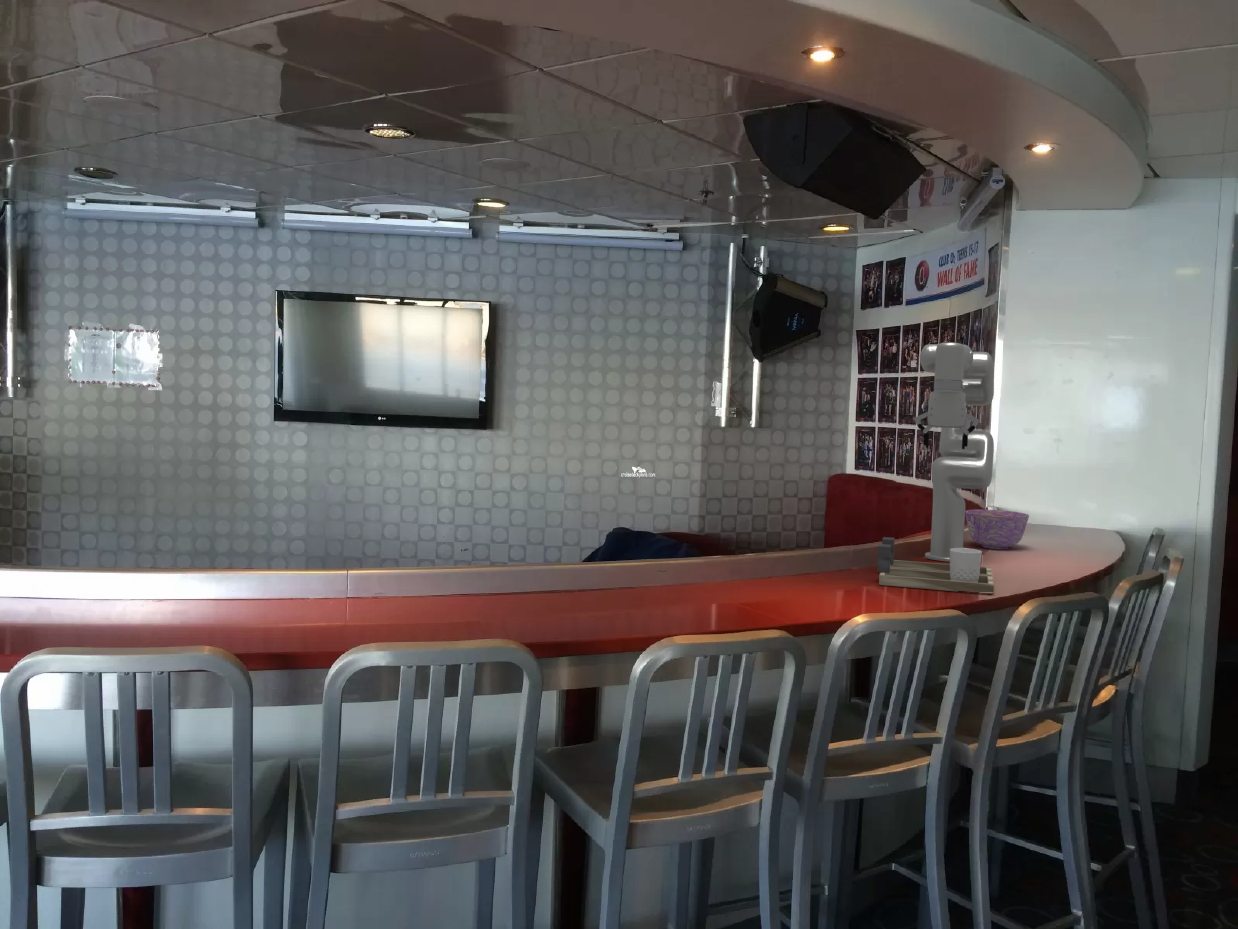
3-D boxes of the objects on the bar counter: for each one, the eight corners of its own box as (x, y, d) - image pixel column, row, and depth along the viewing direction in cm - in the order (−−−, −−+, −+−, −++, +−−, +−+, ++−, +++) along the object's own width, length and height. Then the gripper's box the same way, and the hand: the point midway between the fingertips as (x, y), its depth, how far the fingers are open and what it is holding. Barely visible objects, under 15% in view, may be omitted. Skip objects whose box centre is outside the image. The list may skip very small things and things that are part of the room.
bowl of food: (954, 546, 325) (955, 512, 324) (976, 540, 340) (978, 508, 340) (1015, 554, 312) (1017, 518, 311) (1035, 547, 327) (1037, 513, 327)
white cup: (975, 586, 258) (977, 548, 257) (983, 592, 250) (985, 553, 249) (944, 584, 259) (946, 547, 258) (951, 590, 251) (953, 552, 250)
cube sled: (883, 567, 281) (884, 535, 280) (990, 576, 271) (992, 542, 271) (879, 575, 269) (881, 541, 268) (991, 584, 259) (993, 549, 258)
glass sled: (879, 576, 268) (880, 541, 267) (991, 585, 258) (993, 549, 257) (875, 584, 255) (877, 548, 255) (993, 594, 246) (995, 557, 245)
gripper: (980, 388, 273) (977, 449, 274) (916, 387, 278) (913, 446, 279) (981, 387, 266) (978, 450, 267) (915, 386, 271) (912, 447, 272)
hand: (945, 448), depth 273 cm, fingers open, 9 cm apart
